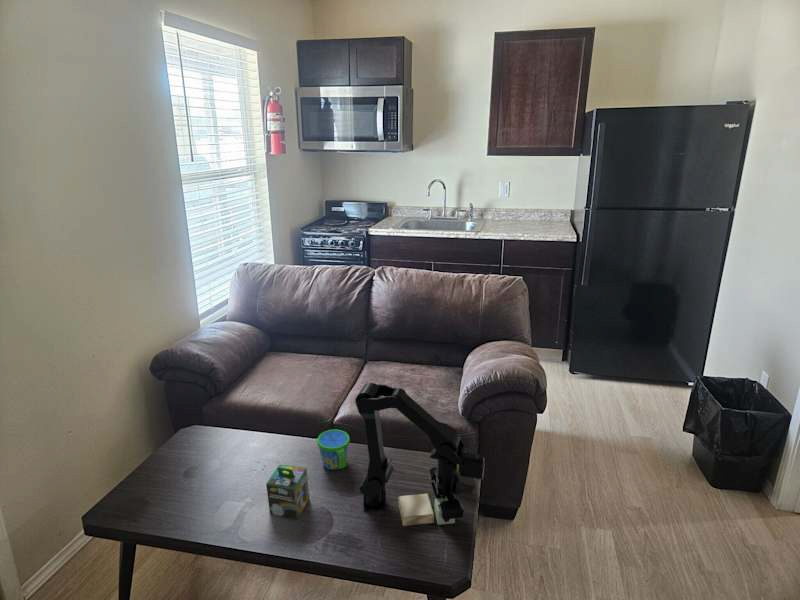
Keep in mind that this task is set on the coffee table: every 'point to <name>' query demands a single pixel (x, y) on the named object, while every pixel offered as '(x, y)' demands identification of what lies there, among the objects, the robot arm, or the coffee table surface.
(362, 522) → the coffee table surface
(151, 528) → the coffee table surface
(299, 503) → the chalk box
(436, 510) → the sage cube
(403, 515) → the oak riser block
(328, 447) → the snack cup
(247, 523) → the coffee table surface
